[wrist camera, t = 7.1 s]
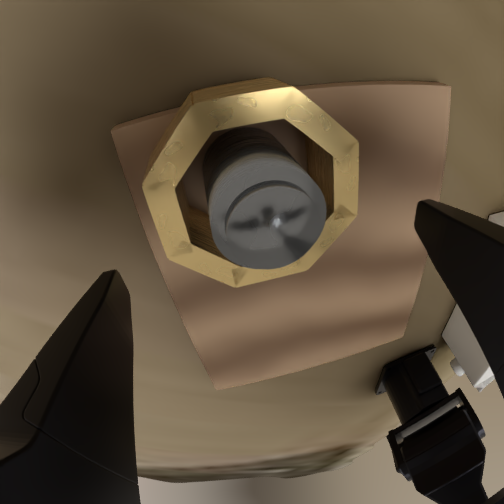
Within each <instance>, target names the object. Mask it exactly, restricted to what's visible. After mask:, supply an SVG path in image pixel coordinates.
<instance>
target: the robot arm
mask: <svg viewBox="0 0 504 504" xmlns="http://www.w3.org/2000/svg"><path fill="white" fill-rule="evenodd" d="M414 228H415V231H416V233H417V235H418V236H419V238H420V240H421V242H422V244H423V245H424V247H425V249H426V251H427V253H428V255H429V257H430V259H431V261H432V263H433V264H434V266H435V268H436V270H437V271H438V273H439V275H440V276H441V278H442V280H443V281H444V283H445V284H446V286H447V288H448V289H449V291H450V293H451V294H452V296H453V298H454V300H455V301H456V303H457V305H458V307H459V308H460V310H461V312H462V314H463V315H464V317H465V319H466V321H467V323H468V324H469V326H470V328H471V330H472V332H473V334H474V336H475V338H476V340H477V342H478V344H479V345H480V347H481V349H482V351H483V354H484V356H485V358H486V360H487V362H488V364H489V366H490V368H491V370H492V372H493V374H494V377H495V379H496V382H497V384H498V386H499V389H500V391H501V393H502V396H503V398H504V227H503V226H501V225H498V224H496V223H493V222H491V221H488V220H486V219H483V218H481V217H478V216H476V215H473V214H471V213H468V212H465V211H463V210H460V209H457V208H454V207H452V206H449V205H446V204H443V203H441V202H438V201H435V200H432V199H425V200H421V201H419V202H418V204H417V208H416V214H415V220H414ZM435 351H436V347H435V346H434V345H433V346H430V347H428V348H426V349H424V350H421V351H419V352H417V353H414V354H412V355H409V356H407V357H404V358H402V359H399V360H397V361H394V362H392V363H389V364H387V365H386V366H385V367H384V369H383V372H382V374H381V377H380V379H379V382H378V385H377V387H376V390H375V393H376V395H379V394H381V393H384V392H387V394H388V396H389V398H390V400H391V402H392V404H393V407H394V409H395V411H396V413H397V415H398V417H399V420H400V422H401V424H402V425H401V426H399V427H398V428H396V429H394V430H393V429H392V430H391V431H389V432H388V433H389V435H387V436H386V437H387V439H388V442H389V444H390V447H391V449H392V453H393V458H394V463H395V467H396V471H397V472H398V473H401V474H403V476H405V478H406V479H407V480H408V481H411V480H412V481H413V483H414V486H415V488H416V490H417V491H418V492H420V493H421V494H423V495H424V496H426V497H428V498H430V499H431V500H433V501H435V502H436V503H438V504H504V488H502V489H501V490H500V491H499V492H497V493H496V494H495V495H493V496H492V497H490V498H489V499H488V497H487V495H486V492H485V490H484V488H483V485H482V483H481V482H482V476H483V469H484V462H485V454H486V449H485V447H484V445H483V443H482V441H481V439H482V438H483V437H485V432H484V430H483V427H482V425H481V423H480V421H479V419H478V417H477V415H476V414H475V412H474V410H473V408H472V407H471V405H470V403H469V402H468V400H467V399H466V397H465V395H464V394H463V392H462V390H461V389H460V388H458V389H457V390H456V391H455V392H454V393H452V394H451V395H449V394H448V392H447V391H446V389H445V387H444V385H443V383H442V380H441V379H440V377H439V375H438V373H437V372H436V370H435V368H434V366H433V365H432V363H431V361H430V360H431V358H432V356H433V355H434V353H435ZM458 404H460V407H459V408H457V406H456V405H458ZM137 484H138V477H137V465H136V452H135V435H134V410H133V332H132V319H131V302H130V294H129V291H128V289H127V287H126V285H125V283H124V281H123V279H122V277H121V275H120V273H119V272H118V271H117V270H110V271H106V272H103V273H102V274H101V275H100V276H99V278H98V279H97V280H96V281H95V282H94V283H93V285H92V286H91V287H90V288H89V289H88V291H87V292H86V293H85V294H84V295H83V297H82V298H81V299H80V300H79V302H78V303H77V304H76V305H75V306H74V308H73V309H72V310H71V311H70V313H69V314H68V315H67V316H66V318H65V319H64V320H63V321H62V323H61V324H60V325H59V327H58V328H57V329H56V331H55V332H54V333H53V334H52V336H51V337H50V338H49V340H48V341H47V342H46V344H45V345H44V346H43V348H42V349H41V350H40V352H39V353H38V355H37V356H36V359H34V360H33V361H32V363H31V364H30V366H29V367H28V368H27V370H26V371H25V373H24V374H23V375H22V377H21V378H20V379H19V381H18V382H17V384H16V385H15V386H14V387H13V389H12V390H11V391H10V393H9V394H8V395H7V397H6V398H5V399H4V400H3V402H2V403H1V404H0V504H141V503H140V495H139V486H138V485H137Z"/></svg>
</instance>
